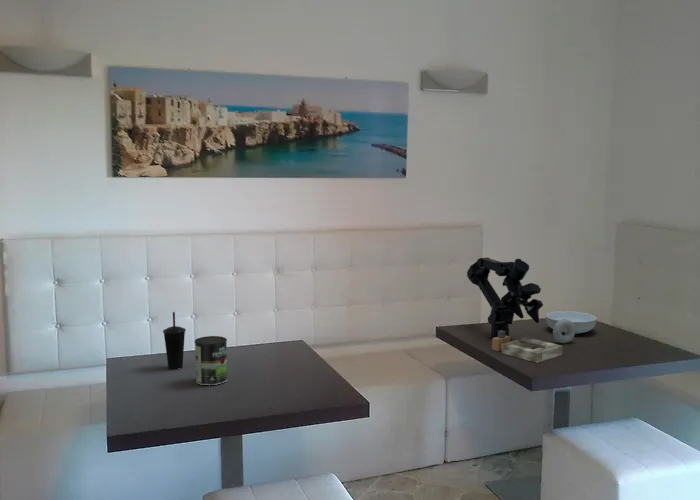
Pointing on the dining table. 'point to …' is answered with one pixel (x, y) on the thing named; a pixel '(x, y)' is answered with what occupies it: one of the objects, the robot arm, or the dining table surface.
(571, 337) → the donut
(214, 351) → the coffee can
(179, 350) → the drinking cup
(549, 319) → the serving bowl
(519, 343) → the grey square tray
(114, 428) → the dining table surface
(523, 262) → the robot arm
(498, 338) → the brown u-shaped block
